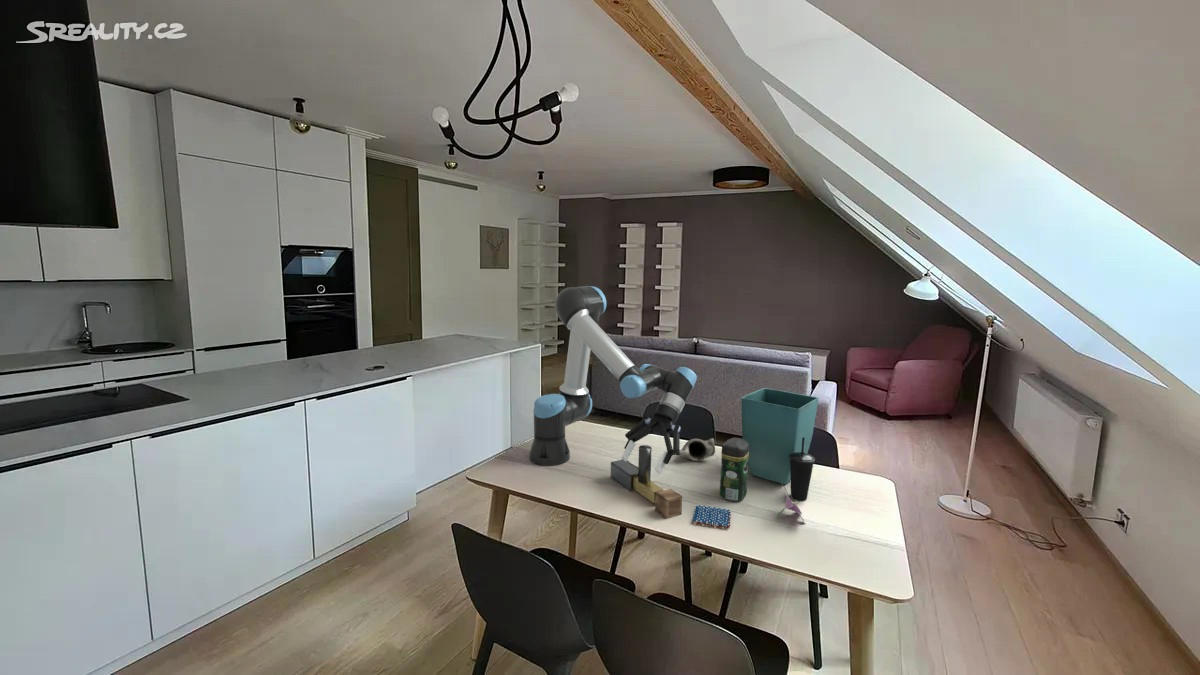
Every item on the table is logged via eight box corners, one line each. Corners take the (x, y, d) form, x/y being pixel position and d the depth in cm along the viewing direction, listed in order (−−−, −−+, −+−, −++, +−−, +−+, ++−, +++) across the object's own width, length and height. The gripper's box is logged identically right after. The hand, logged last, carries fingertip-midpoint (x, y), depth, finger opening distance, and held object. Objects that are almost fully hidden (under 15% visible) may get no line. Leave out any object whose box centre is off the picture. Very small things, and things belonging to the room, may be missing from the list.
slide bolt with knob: (614, 475, 176) (614, 434, 174) (624, 472, 178) (624, 432, 176) (653, 503, 156) (655, 457, 154) (664, 500, 158) (665, 455, 156)
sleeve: (610, 477, 177) (610, 461, 176) (624, 474, 179) (624, 458, 178) (629, 491, 166) (630, 475, 165) (643, 488, 169) (644, 471, 168)
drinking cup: (810, 494, 167) (815, 435, 163) (812, 504, 159) (817, 443, 156) (785, 490, 169) (790, 432, 166) (786, 500, 162) (790, 440, 159)
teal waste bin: (759, 458, 195) (764, 386, 191) (813, 473, 182) (819, 397, 178) (735, 475, 180) (740, 397, 176) (792, 492, 167) (798, 409, 163)
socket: (655, 510, 154) (655, 492, 153) (669, 506, 157) (670, 488, 156) (666, 518, 150) (667, 500, 149) (681, 514, 152) (682, 496, 151)
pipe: (686, 474, 200) (688, 468, 186) (672, 454, 203) (674, 447, 189) (720, 451, 202) (725, 444, 188) (706, 432, 205) (710, 424, 191)
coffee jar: (725, 487, 171) (728, 433, 168) (749, 493, 167) (752, 438, 164) (715, 498, 163) (718, 442, 160) (740, 505, 159) (744, 448, 156)
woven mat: (729, 532, 144) (730, 525, 143) (691, 526, 147) (692, 520, 146) (731, 514, 154) (731, 508, 153) (695, 509, 156) (695, 503, 156)
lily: (798, 537, 143) (816, 508, 142) (760, 511, 148) (778, 482, 147) (800, 530, 154) (817, 503, 153) (765, 505, 159) (781, 479, 158)
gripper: (706, 423, 164) (678, 482, 155) (643, 407, 180) (615, 460, 172) (698, 411, 159) (668, 471, 150) (634, 395, 175) (605, 449, 167)
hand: (640, 465), depth 161 cm, fingers open, 13 cm apart
